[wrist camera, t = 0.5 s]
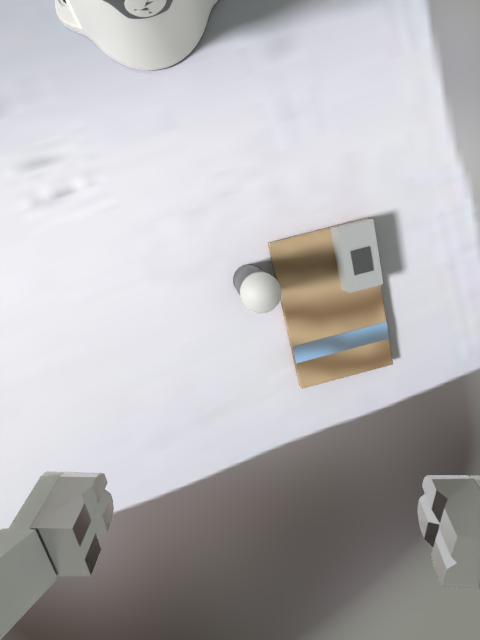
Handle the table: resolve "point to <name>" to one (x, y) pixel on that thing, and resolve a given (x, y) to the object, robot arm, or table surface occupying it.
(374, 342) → the board
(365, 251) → the block
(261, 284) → the peg
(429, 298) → the table surface
